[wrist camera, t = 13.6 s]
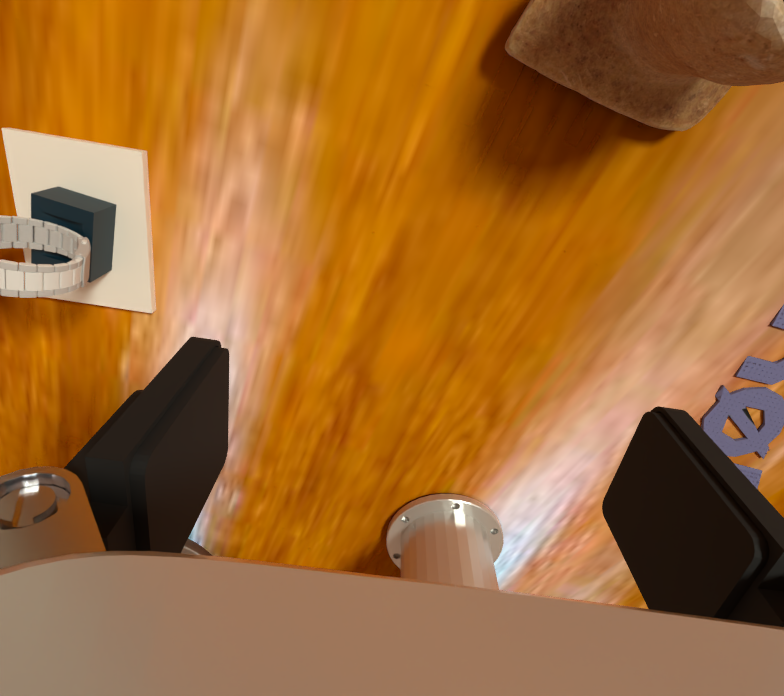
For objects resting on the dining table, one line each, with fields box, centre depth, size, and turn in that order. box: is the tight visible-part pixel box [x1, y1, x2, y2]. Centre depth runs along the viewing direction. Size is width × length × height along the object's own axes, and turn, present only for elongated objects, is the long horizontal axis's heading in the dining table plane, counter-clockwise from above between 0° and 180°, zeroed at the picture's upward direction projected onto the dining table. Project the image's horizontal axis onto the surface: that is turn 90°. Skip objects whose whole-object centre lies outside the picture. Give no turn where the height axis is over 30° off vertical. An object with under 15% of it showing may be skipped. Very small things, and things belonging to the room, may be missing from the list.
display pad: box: [2, 128, 156, 313], centre depth 39 cm, size 13×10×1 cm
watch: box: [0, 186, 116, 298], centre depth 34 cm, size 6×8×11 cm
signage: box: [701, 305, 784, 488], centre depth 45 cm, size 28×1×10 cm
